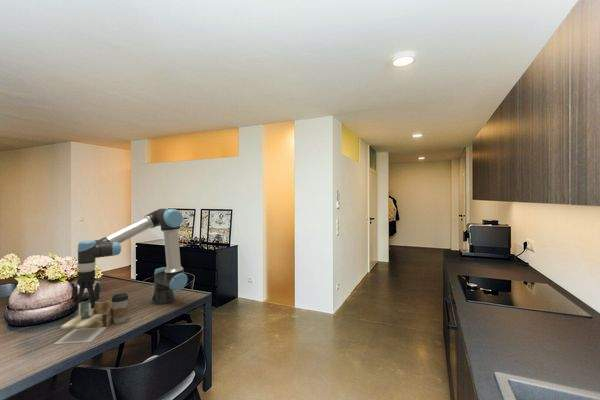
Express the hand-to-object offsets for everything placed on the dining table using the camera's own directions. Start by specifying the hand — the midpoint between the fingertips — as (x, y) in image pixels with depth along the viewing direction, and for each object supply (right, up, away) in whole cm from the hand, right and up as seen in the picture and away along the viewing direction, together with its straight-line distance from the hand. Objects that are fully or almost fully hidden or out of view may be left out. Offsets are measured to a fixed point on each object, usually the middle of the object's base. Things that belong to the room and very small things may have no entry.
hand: (85, 314), depth 151 cm
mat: (0, -10, -3) cm, 10 cm away
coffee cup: (+9, -10, +14) cm, 19 cm away
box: (-2, -10, +13) cm, 17 cm away
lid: (0, -3, -3) cm, 4 cm away
